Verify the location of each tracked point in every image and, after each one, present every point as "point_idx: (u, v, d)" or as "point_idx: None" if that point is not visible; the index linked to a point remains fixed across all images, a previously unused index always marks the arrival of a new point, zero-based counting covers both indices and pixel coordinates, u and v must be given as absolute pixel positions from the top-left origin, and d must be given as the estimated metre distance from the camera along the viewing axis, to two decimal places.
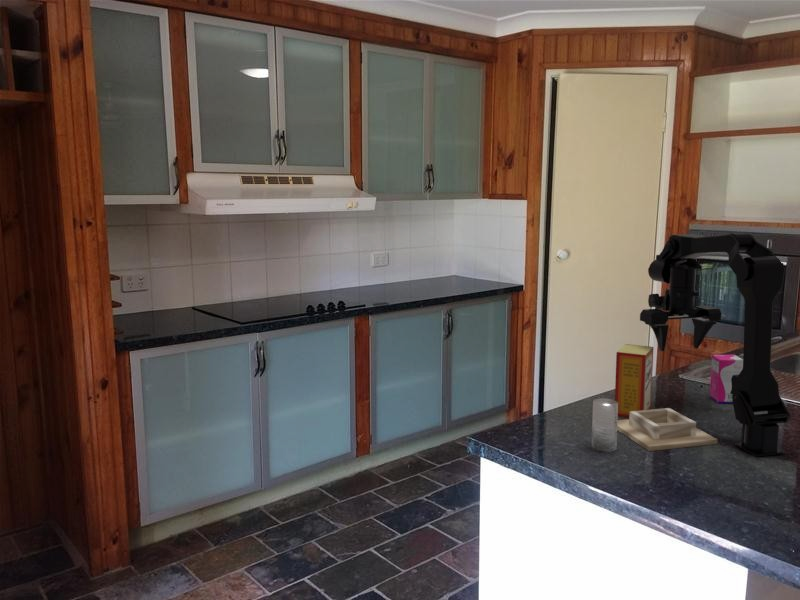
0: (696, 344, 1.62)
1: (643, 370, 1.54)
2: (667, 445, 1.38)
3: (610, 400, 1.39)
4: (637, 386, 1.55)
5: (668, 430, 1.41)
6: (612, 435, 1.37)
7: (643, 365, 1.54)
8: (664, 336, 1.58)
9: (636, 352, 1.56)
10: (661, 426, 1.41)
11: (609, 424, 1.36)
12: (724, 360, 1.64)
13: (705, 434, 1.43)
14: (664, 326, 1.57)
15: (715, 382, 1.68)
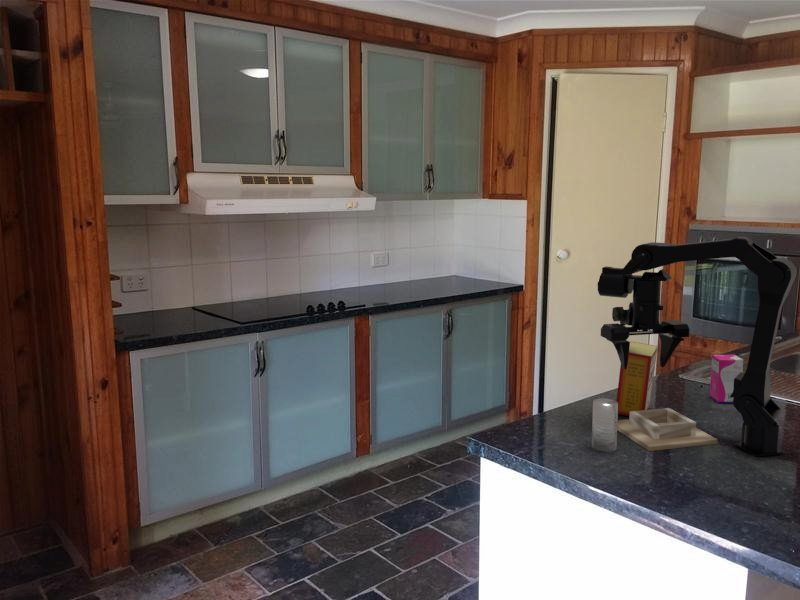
0: (662, 362, 1.49)
1: (648, 371, 1.53)
2: (667, 445, 1.38)
3: (610, 400, 1.39)
4: (640, 386, 1.55)
5: (668, 430, 1.41)
6: (612, 435, 1.37)
7: (649, 366, 1.53)
8: (626, 353, 1.46)
9: (642, 352, 1.55)
10: (661, 426, 1.41)
11: (609, 424, 1.36)
12: (724, 360, 1.64)
13: (705, 434, 1.43)
14: (625, 343, 1.44)
15: (715, 382, 1.67)
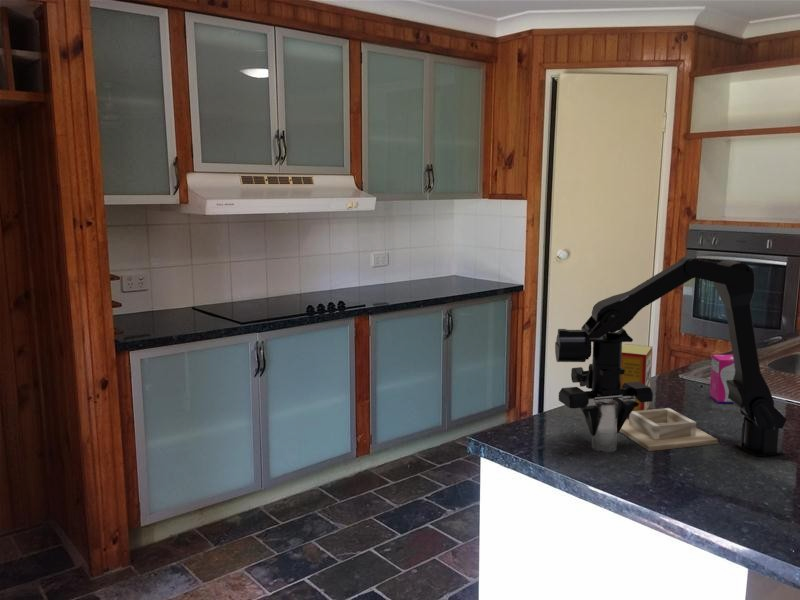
0: None
1: (644, 370, 1.54)
2: (667, 445, 1.38)
3: (610, 400, 1.39)
4: None
5: (668, 430, 1.41)
6: (612, 435, 1.37)
7: (644, 365, 1.54)
8: (594, 420, 1.36)
9: (636, 352, 1.56)
10: (661, 426, 1.41)
11: (609, 424, 1.36)
12: (724, 360, 1.64)
13: (705, 434, 1.43)
14: (593, 409, 1.34)
15: (715, 382, 1.68)
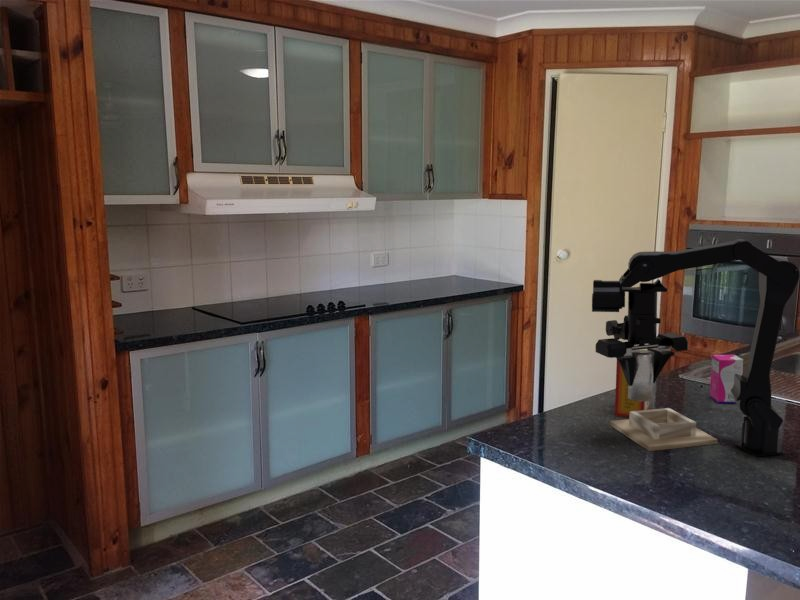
0: None
1: None
2: (667, 445, 1.38)
3: (645, 351, 1.41)
4: None
5: (668, 430, 1.41)
6: (649, 384, 1.39)
7: None
8: (631, 369, 1.38)
9: None
10: (661, 426, 1.41)
11: (646, 373, 1.38)
12: (724, 360, 1.64)
13: (705, 434, 1.43)
14: (631, 358, 1.37)
15: (715, 382, 1.68)
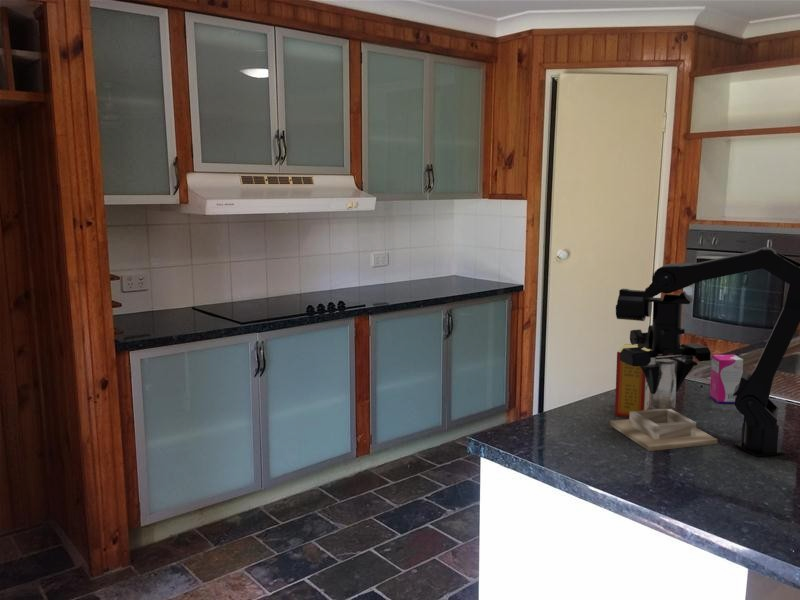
0: None
1: None
2: (667, 445, 1.38)
3: (669, 360, 1.45)
4: (637, 386, 1.55)
5: (668, 430, 1.41)
6: (672, 393, 1.43)
7: None
8: (655, 378, 1.42)
9: None
10: (661, 426, 1.41)
11: (669, 382, 1.42)
12: (724, 360, 1.64)
13: (705, 434, 1.43)
14: (655, 367, 1.40)
15: (715, 382, 1.68)
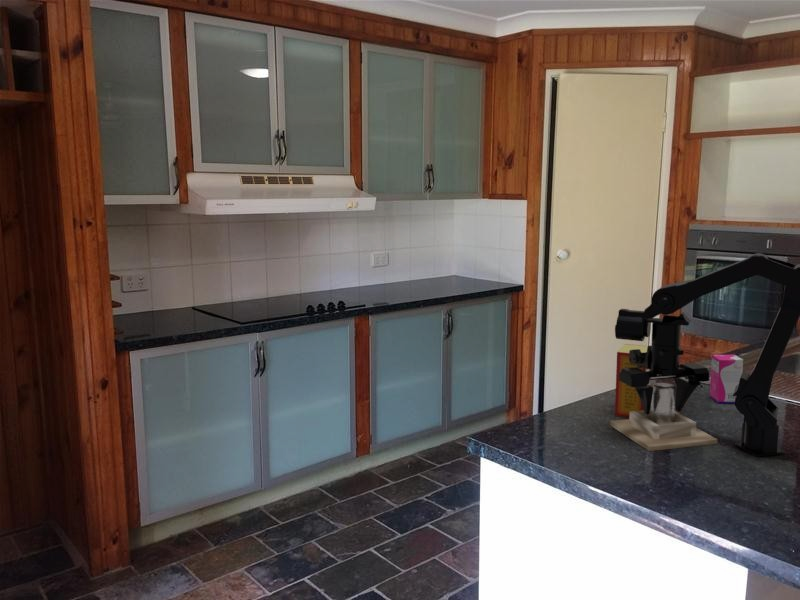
0: (678, 406, 1.46)
1: (644, 370, 1.54)
2: (667, 445, 1.38)
3: (667, 384, 1.46)
4: None
5: (668, 430, 1.41)
6: (670, 417, 1.44)
7: None
8: (649, 399, 1.42)
9: None
10: (661, 426, 1.41)
11: (668, 407, 1.43)
12: (724, 360, 1.64)
13: (705, 434, 1.43)
14: (648, 388, 1.41)
15: (715, 382, 1.68)
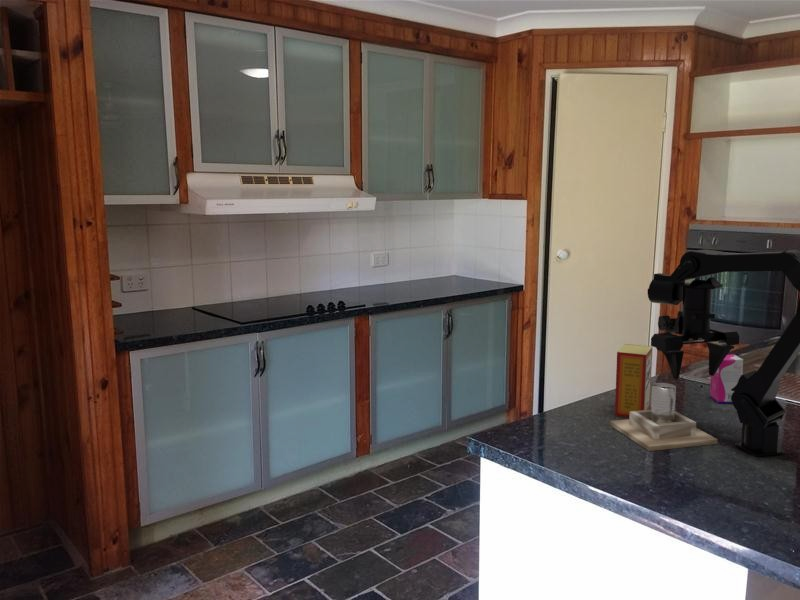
0: (712, 371, 1.47)
1: (644, 370, 1.54)
2: (667, 445, 1.38)
3: (668, 384, 1.46)
4: (637, 386, 1.55)
5: (668, 430, 1.41)
6: (670, 417, 1.44)
7: (644, 365, 1.54)
8: (679, 363, 1.42)
9: (636, 352, 1.56)
10: (661, 426, 1.41)
11: (668, 407, 1.43)
12: (724, 360, 1.64)
13: (705, 434, 1.43)
14: (679, 352, 1.41)
15: (715, 382, 1.68)
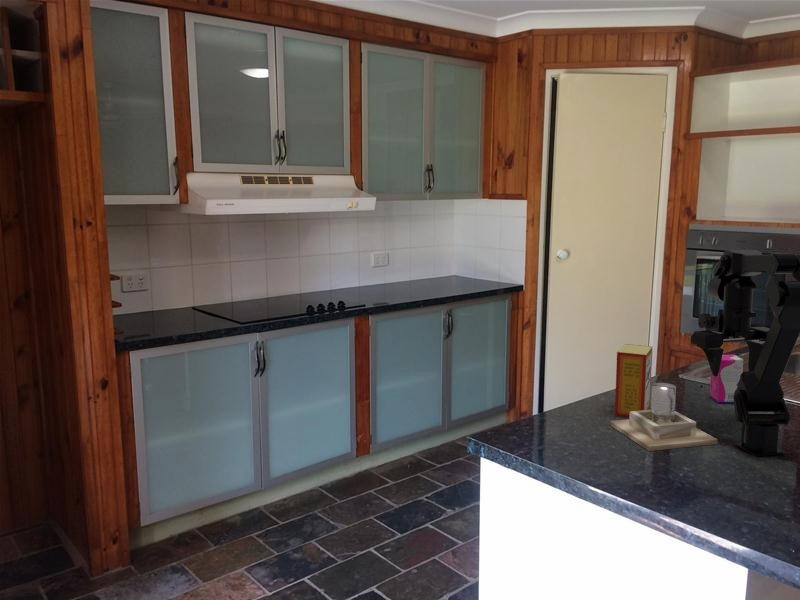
0: (752, 368, 1.49)
1: (644, 370, 1.54)
2: (667, 445, 1.38)
3: (668, 384, 1.46)
4: (637, 386, 1.55)
5: (668, 430, 1.41)
6: (670, 417, 1.44)
7: (644, 365, 1.54)
8: (718, 360, 1.45)
9: (636, 352, 1.56)
10: (661, 426, 1.41)
11: (668, 407, 1.43)
12: (724, 360, 1.64)
13: (705, 434, 1.43)
14: (719, 350, 1.44)
15: (715, 382, 1.67)
